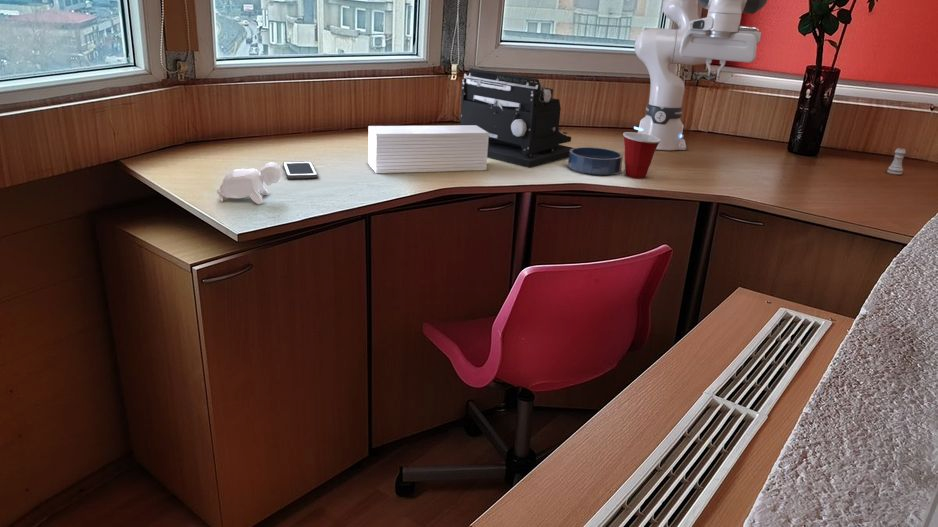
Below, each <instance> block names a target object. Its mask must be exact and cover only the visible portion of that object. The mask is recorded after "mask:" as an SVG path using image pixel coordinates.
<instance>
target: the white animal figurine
mask: <svg viewBox="0 0 938 527" xmlns="http://www.w3.org/2000/svg"><path fill="white" fill-rule="evenodd" d="M283 176H284V170H283V169H282V166H281V165H280V164H279V163H277V162H272V161H271V162H267V163H266V164H264V165H263V166H262V167H261V168H260V171H259V170H258V169H255V168H236V169H233V170H231V171H229V172H228V173H227V174H226V175H225V176H224V178H223V179H222V182H221V185H220V186H219V188H218V189H217V190H216V191H215V192H216V193H217V195H218V197H219V200H220V202H224V198H226V199H247V198H250V199H251V200H252V201H253V203H255V204H256V205H262V204H263V202H264V198H263V197H262V195H264V196H266V195H268V192H269V191H268V189H267V188H266V187H265V186H264V184H265V185H266V186H271V185H275V184H278V183H279V182H280V181H281V180H282V178H283Z"/></svg>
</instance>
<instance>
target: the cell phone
mask: <svg viewBox="0 0 938 527" xmlns="http://www.w3.org/2000/svg"><path fill="white" fill-rule="evenodd" d="M282 166H283V169H284V170H283V171H284V172H285V174H286V178H287V179H292V180H293V179H294V180H295V179H317V178H318V172H317V169H316V167H315V166H314V164H313V162H312V161H310V160H305V161H301V160H300V161H283V162H282Z"/></svg>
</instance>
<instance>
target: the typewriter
mask: <svg viewBox="0 0 938 527" xmlns="http://www.w3.org/2000/svg"><path fill="white" fill-rule="evenodd" d="M468 71H469V74H468V75H467V73H464V74H463V77H461V97H460V99H461V100H460V118H459V123H460V124H459V125H477V126H478V127H480V128H482V129H483V130H485V131H487V132H488V133H489V136H488V137H489V139H488V146H487V147H488V153H487V159H488V158H489V159H492V160H497V161H500V162H504V163H508V164H511V165H512V164H513V165H516V166H520V167H525V168H529V169H530V168H535V167H537V166H542V165H546V164H549V163H553V162H557V161H562V160H566V159H569V150H570V149H573V148H574V147H572V146H568V145H563V144H566V143H570V142H572V136H569V135H568V131H562V127H561V126H560V121H561V120H560V119H561V111H562V110H561V109H562V108H561V101H560V99H559V98H553V96H554V95H553V94H554V89H553V88H549V87H545V86H541V84H542V80H539V79H538V78H534V77H528V76H521V75H515V74H509V73H508V74H507V73H502V72H496V71H489V70H483V69H477V68H471V67H469V68H468ZM561 131H562V133H561Z"/></svg>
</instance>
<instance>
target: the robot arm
mask: <svg viewBox="0 0 938 527" xmlns="http://www.w3.org/2000/svg"><path fill="white" fill-rule="evenodd" d="M767 2H768V0H663V1H662V12H663V15H664V16H665V17H666V18H667V19H669V20H670V21H672V22H674V23H675V24H676V26H677V27H678V28H676V29H674V28H663V27H654V28H645V29H642V30H641V31H640V32H639V33H638V34H637V36H636V38H635V40H634V44H633V45H634V46H633V47H634V52H635V55H636V57H637V58H638V59H639V60H640V61H641V62H642V63H643V64H644V66H645V68H646V69H647V71H648V75H649V79H650V87H649V88H650V89H649V97H648V103H647V104H646V107H645V116H644V117H642V118H641V119H640V120H639V125H638V127H637V126H633V129H634V130H637V133H643V134H647V135H651V136H654V137H657V138H659V139H661V142H660V143H659V144H658V146H657V148H656V150H658V151H686V150H687V144H686V140H685V139H684V137H685V136H684V134H683V132H684V131H683V130H684V127H685V126H684V124H683V122H682V119H681V118H682V116H683V100H684V94H685V89H686V86H685V82H684V80H683V79H682V78H681V77H679V76H678V75H676V74H675V73H673V72H672V71H671V70H670V68H669V65H685V66H698V65H706V67H707V69H708V71H707V77H714V78H719V77H720V72H721V70H723V68H724V66H726V62H736V63H737V62H739V63H747V64H748V63H749V64H752V63H753V62H755V61H756V59H757V52H758V50H757V49H758V44H759V43H760V42H761V38H762V32H761V30H760V29H758V28H757V27H756V26H746V25H741V21H742V14H747V15H754V14H756V13H757V12H760V10H762V9H763V8H764V7H765V6H766V4H767ZM699 5H700V7H702V8H703V9H704V10H707V15H706V17H699V10H698V7H699ZM713 60H717V61H719V65H720V66H719V67H718V68H717V69H712V66H711V64H712V62H713Z"/></svg>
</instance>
